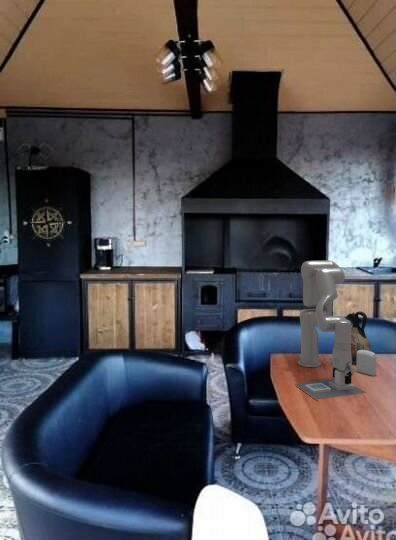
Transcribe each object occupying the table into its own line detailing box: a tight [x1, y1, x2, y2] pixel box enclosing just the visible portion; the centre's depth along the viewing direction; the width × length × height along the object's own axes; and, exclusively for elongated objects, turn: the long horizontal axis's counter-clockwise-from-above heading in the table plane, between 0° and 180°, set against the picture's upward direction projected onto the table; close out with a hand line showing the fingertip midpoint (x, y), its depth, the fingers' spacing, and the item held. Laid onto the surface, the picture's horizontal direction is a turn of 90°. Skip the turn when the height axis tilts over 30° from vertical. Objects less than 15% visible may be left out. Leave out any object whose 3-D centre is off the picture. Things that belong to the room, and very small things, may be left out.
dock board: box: [294, 378, 367, 402], centre depth 206 cm, size 20×26×2 cm
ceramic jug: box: [345, 311, 372, 364], centre depth 248 cm, size 17×15×30 cm
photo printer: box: [355, 350, 377, 377], centre depth 229 cm, size 10×4×12 cm, turn 39°
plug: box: [334, 369, 349, 387], centre depth 208 cm, size 4×6×8 cm
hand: (341, 380), depth 208 cm, fingers open, 9 cm apart
